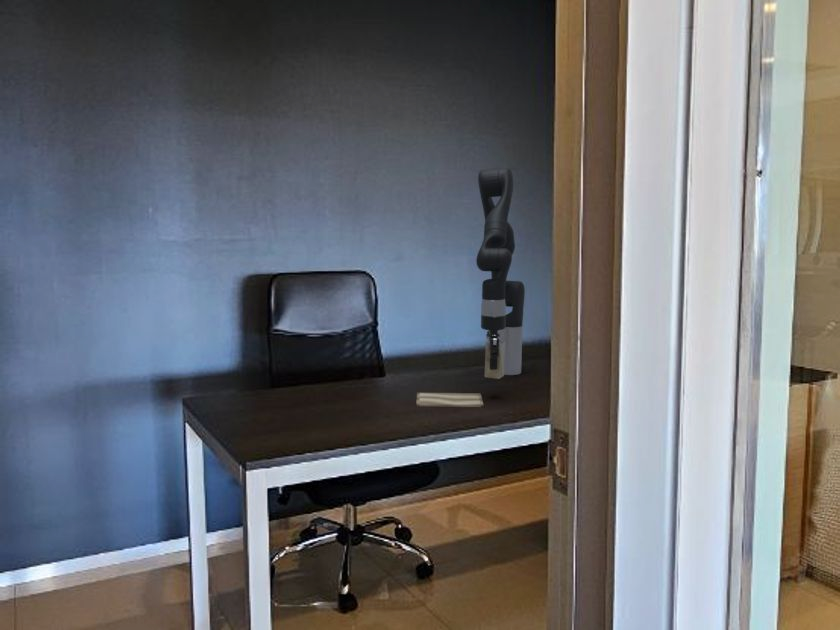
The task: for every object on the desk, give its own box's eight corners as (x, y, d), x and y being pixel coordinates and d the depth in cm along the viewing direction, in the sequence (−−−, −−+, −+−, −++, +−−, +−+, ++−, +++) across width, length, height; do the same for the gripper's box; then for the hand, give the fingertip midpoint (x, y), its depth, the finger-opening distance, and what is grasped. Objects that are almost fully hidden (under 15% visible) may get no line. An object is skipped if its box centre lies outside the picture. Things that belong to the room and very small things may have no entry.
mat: (417, 394, 233) (417, 392, 233) (480, 395, 233) (480, 393, 233) (416, 406, 219) (416, 404, 219) (483, 407, 219) (483, 405, 219)
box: (484, 377, 228) (484, 342, 226) (489, 374, 232) (489, 339, 230) (500, 379, 226) (500, 343, 224) (504, 376, 230) (505, 341, 228)
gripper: (479, 309, 233) (478, 361, 236) (482, 317, 219) (482, 372, 222) (503, 309, 233) (502, 361, 236) (508, 317, 219) (507, 372, 221)
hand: (492, 366), depth 229 cm, fingers closed on box, 5 cm apart
